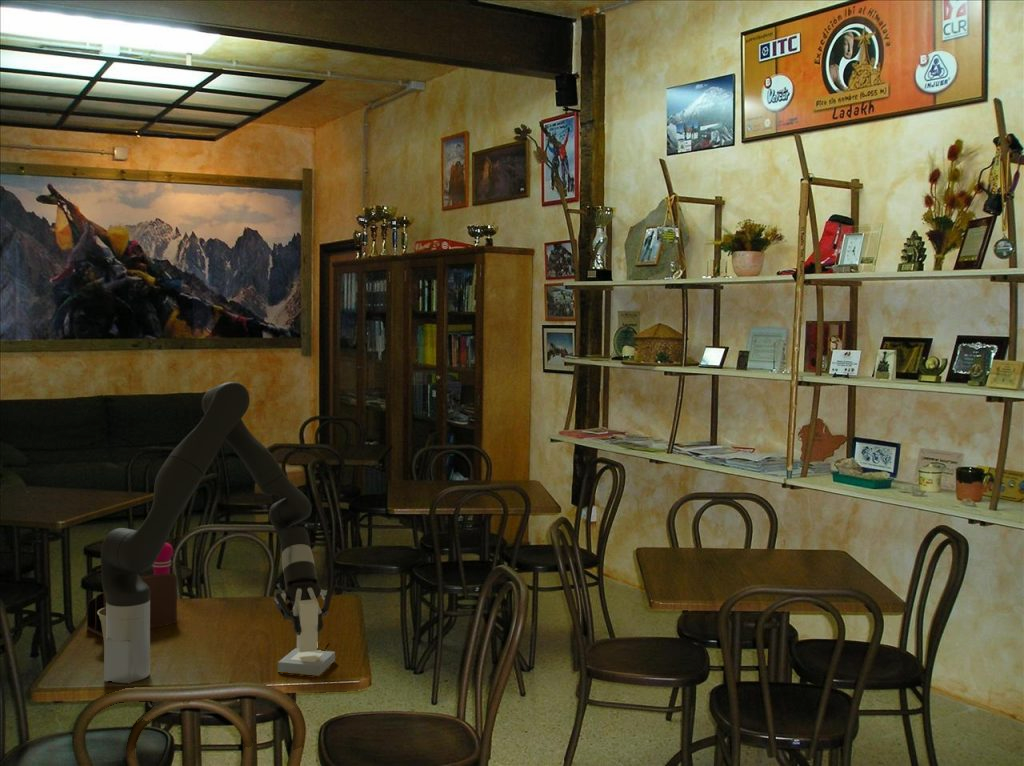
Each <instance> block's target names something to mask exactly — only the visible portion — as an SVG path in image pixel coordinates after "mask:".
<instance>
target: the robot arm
mask: <svg viewBox="0 0 1024 766" xmlns="http://www.w3.org/2000/svg"><path fill="white" fill-rule="evenodd" d="M249 407H250V394H249V392H248V390H247V387H246V386H244V385H243V384H241V383H240V382H235V381H228V382H223V383H222V384H219V385H217V386H214V387H212V388H211V389H208V390H207V391H206V392H205V393H204V395H203V397H202V399H201V409H202V411H203V413H204V415H203V416H202V418H201V420H200V421H199V422H198V424H197V425H196V426H195V427H194V428H193V429H192V430H191V431H190V432H189V433H188V434H187V435H186V436H185V437H184V438H183V439H182V440H181V441H180V442H179V443H178V444H177V445H176V447H175V448H174V449H173V450H172V451H171V452H170V454H169V455H168V457H167V458H166V460H165V461H164V463H163V464H162V466H161V467H160V469H159V470H158V472H157V474H156V477H155V480H154V484H153V485H154V489H153V499H152V504H151V509H150V511H149V512H148V515H147V516H146V517H145V519H144V521H143V522H142V524H141V525H140V526H139V528H138V529H137V530H136V529H132V528H126V527H117V528H115V529H113V530H111V531H110V532H108V534H107V535H106V536H105V537H104V540H103V541H102V542H103V543H102V545H101V548H100V549H101V550H100V566H101V567H100V568H101V569H100V570H101V585H102V590H103V592H105V594H106V639H105V640H103V647H104V648H103V650H104V651H103V655H104V657H103V660H104V661H103V665H104V666H103V668H104V669H103V676H104V678H103V680H104V682H108V681H112V682H111V683H117V684H118V683H119V684H126V683H127V685H128V684H131V683H134V682H139V681H142V680H144V679H147V677H149V676H150V674H151V629H150V588H149V586H148V585H147V584H146V583H145V582H144V581H143V580H142V579H141V578H140V577H141V576H140V574H143V573H145V572H147V571H148V570H149V569H150V568H151V567H153V566H152V565H153V564H154V562H155V561H156V559H157V557H158V556H159V554H160V552H161V550H162V548H163V546H164V544H165V542H166V541H167V539H168V538H169V535H170V533H171V531H172V529H173V528H174V526H175V523H177V520H178V519H179V517H180V515H181V513H182V511H183V509H184V508H185V506H186V504H187V503H188V502H189V500H190V498H191V497H192V495H193V494H194V492H195V491H196V489H197V487H198V486H199V484H200V483H201V481H202V480H203V478H204V476H205V475H206V472H207V471H208V469H209V467H210V466H211V464H212V462H213V461H214V459H215V458H216V456H217V454H218V453H219V450H220V448H221V447H222V445H223V443H224V441H226V442H227V443H228V444H229V445H230V447H231V448H232V450H234V452H235V453H236V455H237V456H238V457H239V458H240V460H241V461H242V463H243V464H244V466H245V467H246V469H247V470H248V472H249V474H250V475H251V477H252V478H253V481H254V482H255V484H256V485H257V487H258V489H259V490H260V492H261V493H262V494H263V495H264V496H266V497H267V496H268V497H269V496H273V495H280V496H282V497H284V498H282V499H280V500H278V501H277V502H274V503H272V504H271V506H270V507H269V511H268V518H269V520H270V523H271V524H272V526H273V528H274V530H275V532H276V533H275V534H276V535H277V537H278V540H279V543H280V550H281V563H282V567H281V568H282V571H283V577H284V585H285V587H286V591H285V593H282V594H279V593H280V592H277V593H276V595H275V597H274V603H275V604H276V607H277V609H278V610H279V612H280V614H281V616H282V617H283V619H284V620H285V621H286V620H290V621H291V622H292V628H293V632H294V633H295V634H296V636H297V635H300V633H301V626H300V619H299V617H298V613H299V612H298V602H297V601H302V600H313V599H314V600H315V601H316V602H317V603H318V628H317V632H318V634H320V633H321V631H322V630H323V628H324V624H323V623H324V622H323V617H326V616H327V615H328V611H329V609H330V606H331V605H330V604H331V600H332V593H333V590H332V588H328V589H326V590H325V589H322V588H321V586H320V585H319V581H318V576H317V571H316V565H315V559H314V554H313V552H312V551H313V550H312V547H311V541H310V535H309V531H308V530H307V529H306V527H303V526H299V525H296V524H299V523H300V522H302V521H304V520H307V519H308V518H309V517H310V516H311V514H312V504H311V503H312V502H310V499H309V498H308V497H307V496H306V495H305V493H303V492H302V491H301V490H300V489H299V488H298V487H297V486H296V485H295V484H294V483H293V482H292V481H291V480H290V479H289V478H288V477H287V475H286V474H285V472H284V471H283V469H282V467H281V466H280V464H279V462H278V461H277V459H276V458H275V457H274V455H273V454H272V453H271V451H270V450H268V448H267V447H265V445H263V444H262V442H260V441H259V440H258V439H257V438H256V437H255V436H254V435H253V434H252V433H251V432H250V430H249V429H248V428H247V426H246V424H245V423H244V421H243V419H242V418H243V417H244V415H245V414H246V413H247V411H248V409H249ZM294 525H295V526H294ZM166 543H167V542H166ZM320 596H321V599H322V600H323V606H322V608H321V607H320V605H319V604H320V603H319V601H318V598H319V597H320ZM285 598H287V599H288V600H287V601H289V602H290V603H291V605H292V611H291V610H290V609H289V607H288V605H287V604H286V601H285V600H286V599H285Z"/></svg>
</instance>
